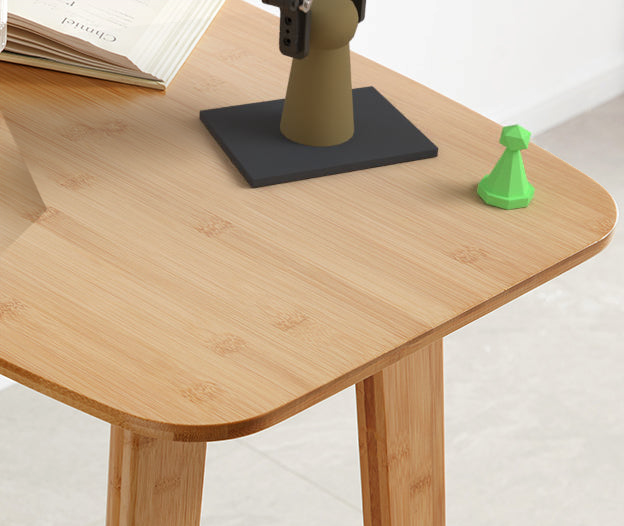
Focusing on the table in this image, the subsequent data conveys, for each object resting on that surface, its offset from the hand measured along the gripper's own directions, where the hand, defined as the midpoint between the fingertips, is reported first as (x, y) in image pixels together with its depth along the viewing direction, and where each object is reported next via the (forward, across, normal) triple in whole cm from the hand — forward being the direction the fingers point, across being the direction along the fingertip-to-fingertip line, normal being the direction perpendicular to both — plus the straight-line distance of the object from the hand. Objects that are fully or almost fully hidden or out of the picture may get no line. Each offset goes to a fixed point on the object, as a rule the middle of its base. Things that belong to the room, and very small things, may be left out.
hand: (322, 37), depth 87 cm
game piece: (+9, -1, +16) cm, 19 cm away
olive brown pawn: (+8, 0, 0) cm, 8 cm away
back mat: (+9, 0, 0) cm, 9 cm away
